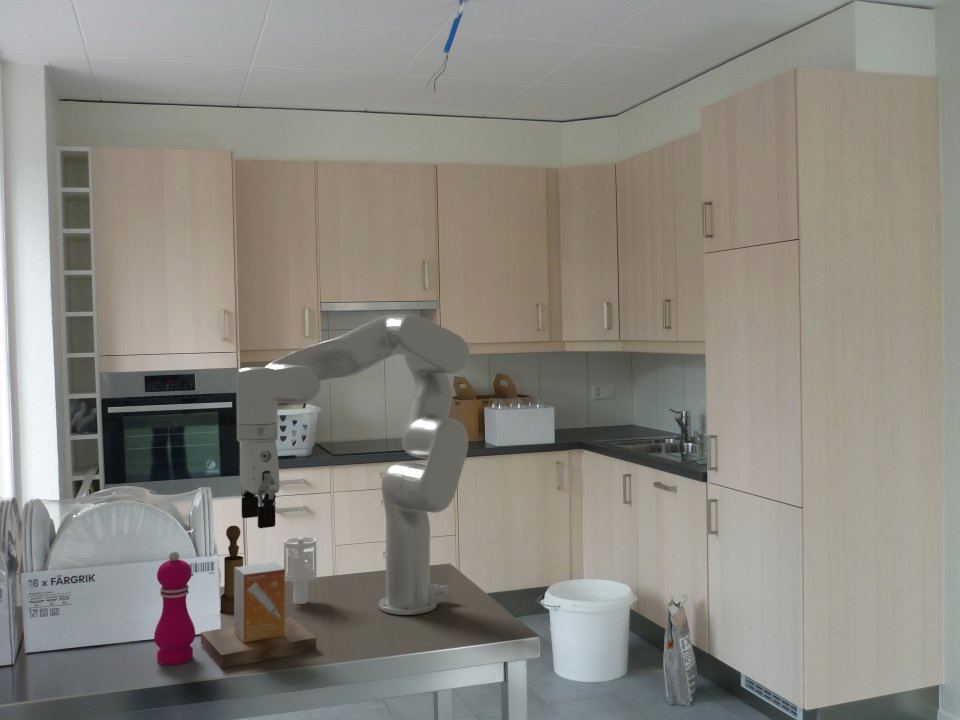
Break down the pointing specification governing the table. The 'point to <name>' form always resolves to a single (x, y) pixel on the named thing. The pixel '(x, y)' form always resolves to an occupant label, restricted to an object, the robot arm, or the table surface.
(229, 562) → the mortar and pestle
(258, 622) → the small box
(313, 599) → the table surface
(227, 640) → the walnut board
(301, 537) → the white slotted cylindrical holder
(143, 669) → the table surface
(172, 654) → the pepper mill
